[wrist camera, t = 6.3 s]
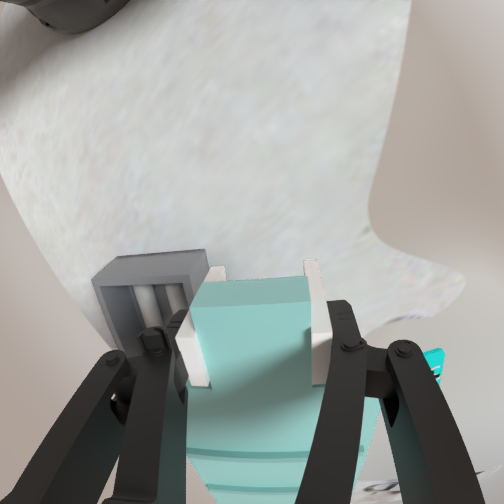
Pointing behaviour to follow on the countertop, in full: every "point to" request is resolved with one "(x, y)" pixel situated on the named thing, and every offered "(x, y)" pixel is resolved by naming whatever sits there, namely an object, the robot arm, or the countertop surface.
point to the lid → (257, 391)
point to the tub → (147, 292)
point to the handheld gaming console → (435, 361)
